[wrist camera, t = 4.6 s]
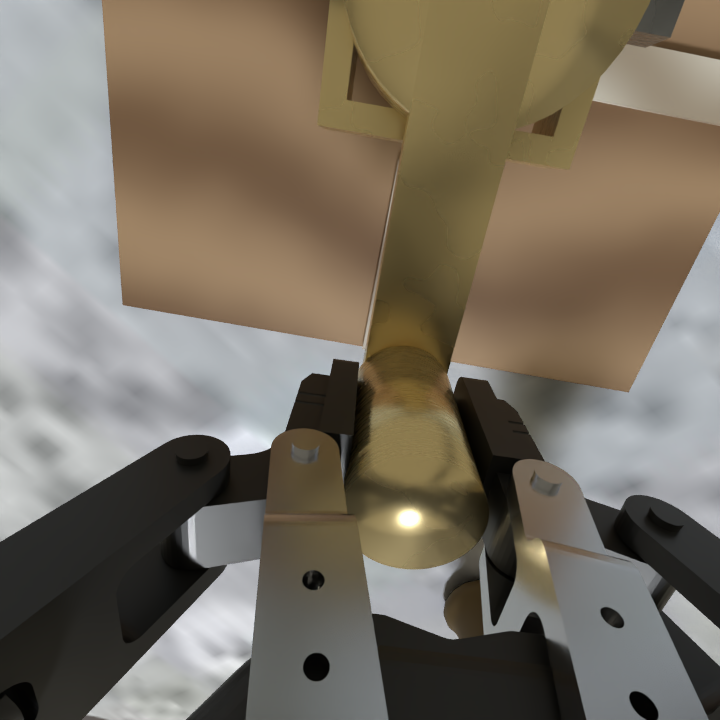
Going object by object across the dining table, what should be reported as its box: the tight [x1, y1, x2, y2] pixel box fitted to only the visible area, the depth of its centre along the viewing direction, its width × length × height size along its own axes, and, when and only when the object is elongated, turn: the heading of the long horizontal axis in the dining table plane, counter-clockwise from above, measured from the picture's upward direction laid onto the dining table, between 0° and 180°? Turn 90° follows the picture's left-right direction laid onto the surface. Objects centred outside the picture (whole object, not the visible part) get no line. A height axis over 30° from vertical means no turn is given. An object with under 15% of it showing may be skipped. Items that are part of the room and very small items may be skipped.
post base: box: [102, 0, 720, 392], centre depth 13 cm, size 24×24×6 cm
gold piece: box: [317, 0, 685, 569], centre depth 10 cm, size 15×9×9 cm, turn 171°
